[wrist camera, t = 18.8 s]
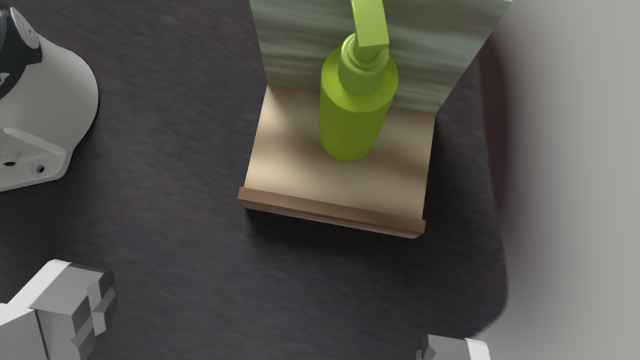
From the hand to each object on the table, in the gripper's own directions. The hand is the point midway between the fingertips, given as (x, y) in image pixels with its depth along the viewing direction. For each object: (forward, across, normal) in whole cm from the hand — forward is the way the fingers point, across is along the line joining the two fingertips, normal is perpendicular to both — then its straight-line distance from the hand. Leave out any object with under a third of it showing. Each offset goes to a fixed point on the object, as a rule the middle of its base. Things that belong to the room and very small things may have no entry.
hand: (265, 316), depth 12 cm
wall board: (+36, -1, +14) cm, 39 cm away
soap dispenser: (+36, -1, +11) cm, 37 cm away
